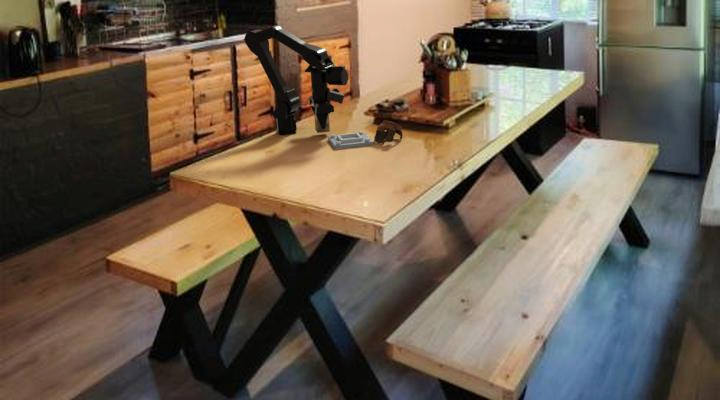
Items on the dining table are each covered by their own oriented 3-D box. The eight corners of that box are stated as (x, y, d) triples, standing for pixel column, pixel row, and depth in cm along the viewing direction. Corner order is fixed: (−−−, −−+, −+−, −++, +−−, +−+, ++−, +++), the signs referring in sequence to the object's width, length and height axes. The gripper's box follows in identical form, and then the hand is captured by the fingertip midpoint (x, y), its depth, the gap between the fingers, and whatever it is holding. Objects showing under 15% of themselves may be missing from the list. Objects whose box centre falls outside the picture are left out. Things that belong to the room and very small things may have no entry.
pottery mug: (369, 141, 264) (377, 119, 264) (393, 150, 266) (401, 128, 266) (377, 140, 252) (385, 117, 252) (402, 150, 254) (411, 127, 254)
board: (335, 149, 254) (335, 143, 253) (328, 140, 266) (327, 133, 265) (372, 145, 256) (372, 138, 256) (363, 136, 268) (363, 130, 268)
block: (317, 132, 270) (316, 116, 268) (315, 130, 274) (314, 113, 272) (329, 131, 271) (328, 115, 269) (327, 128, 275) (326, 112, 273)
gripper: (347, 87, 260) (349, 131, 265) (336, 78, 277) (338, 119, 282) (315, 90, 258) (318, 134, 263) (306, 80, 275) (309, 122, 280)
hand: (322, 127), depth 272 cm, fingers closed on block, 4 cm apart
